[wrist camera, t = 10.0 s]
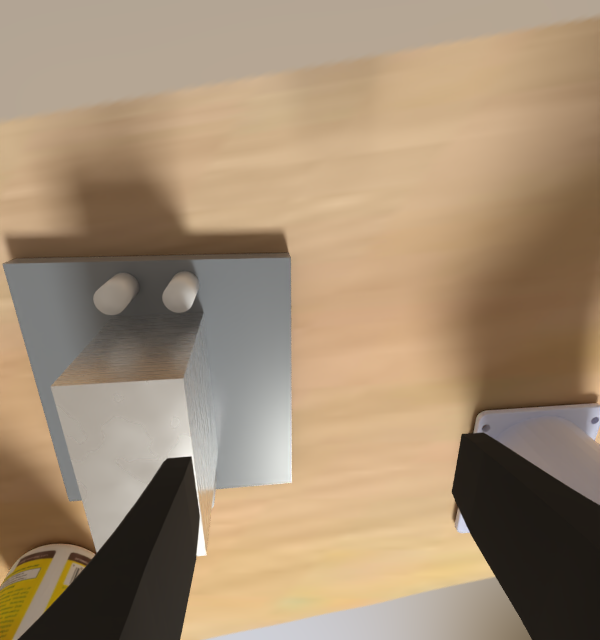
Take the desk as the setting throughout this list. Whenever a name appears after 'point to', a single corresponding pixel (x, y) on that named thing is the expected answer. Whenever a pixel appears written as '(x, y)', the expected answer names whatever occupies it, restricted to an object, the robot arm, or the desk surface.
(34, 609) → the supplement bottle
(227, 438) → the pin tray
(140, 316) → the block
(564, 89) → the desk surface
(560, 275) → the desk surface
